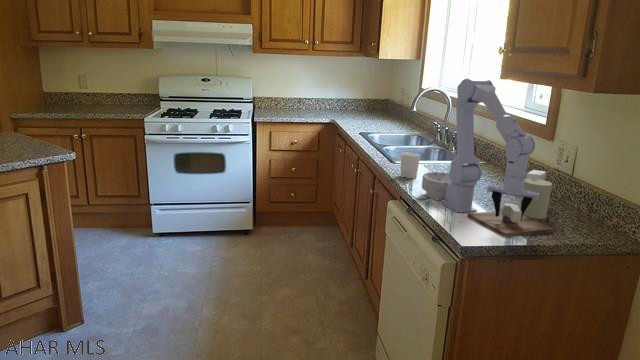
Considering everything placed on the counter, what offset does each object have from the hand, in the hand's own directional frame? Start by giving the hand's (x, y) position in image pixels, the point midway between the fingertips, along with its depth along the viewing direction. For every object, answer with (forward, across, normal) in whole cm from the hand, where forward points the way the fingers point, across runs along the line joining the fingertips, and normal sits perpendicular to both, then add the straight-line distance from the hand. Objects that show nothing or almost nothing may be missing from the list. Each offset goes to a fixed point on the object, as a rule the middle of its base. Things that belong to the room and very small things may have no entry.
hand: (508, 217), depth 146 cm
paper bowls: (+4, -26, +20) cm, 34 cm away
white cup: (+4, -47, +42) cm, 63 cm away
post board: (+3, 0, +4) cm, 5 cm away
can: (+4, +5, +21) cm, 22 cm away
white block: (0, +1, +2) cm, 2 cm away
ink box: (+4, +3, +35) cm, 36 cm away
